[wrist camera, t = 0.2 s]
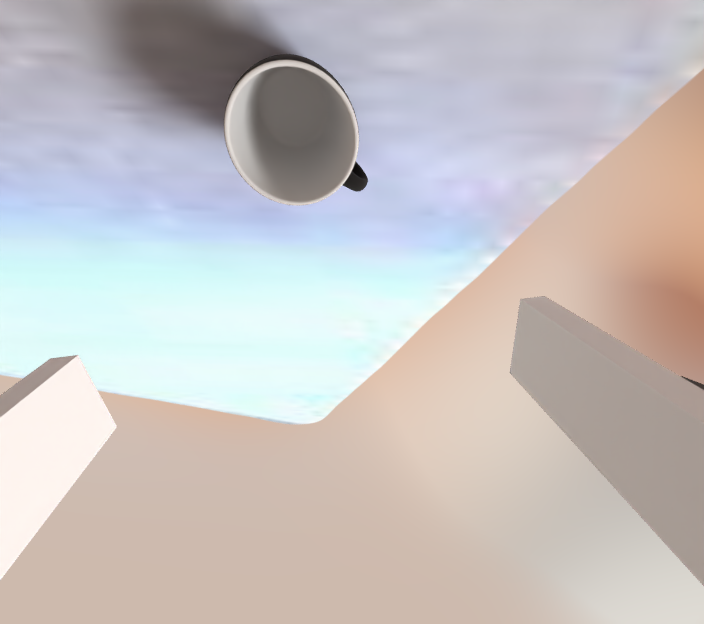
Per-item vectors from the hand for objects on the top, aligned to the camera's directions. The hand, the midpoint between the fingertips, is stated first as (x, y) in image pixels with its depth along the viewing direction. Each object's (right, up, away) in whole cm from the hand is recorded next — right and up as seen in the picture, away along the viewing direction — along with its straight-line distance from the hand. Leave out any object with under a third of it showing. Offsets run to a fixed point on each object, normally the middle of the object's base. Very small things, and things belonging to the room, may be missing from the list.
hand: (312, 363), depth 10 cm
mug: (-3, +19, +20) cm, 28 cm away
